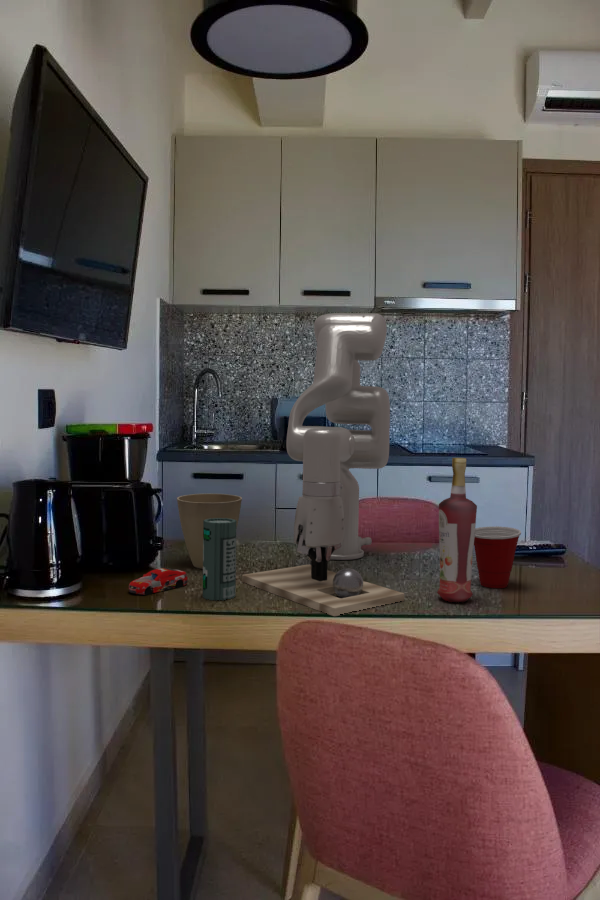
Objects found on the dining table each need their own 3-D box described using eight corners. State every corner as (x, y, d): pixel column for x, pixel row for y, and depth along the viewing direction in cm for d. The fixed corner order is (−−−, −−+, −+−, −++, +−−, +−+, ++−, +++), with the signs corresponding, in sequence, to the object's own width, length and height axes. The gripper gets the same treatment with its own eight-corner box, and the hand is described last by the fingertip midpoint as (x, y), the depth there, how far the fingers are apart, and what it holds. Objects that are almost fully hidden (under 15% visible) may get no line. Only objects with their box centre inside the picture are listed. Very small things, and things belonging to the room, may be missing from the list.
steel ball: (356, 608, 139) (339, 601, 145) (374, 584, 141) (357, 578, 147) (337, 589, 137) (321, 582, 143) (356, 565, 139) (340, 559, 144)
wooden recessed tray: (242, 581, 154) (242, 574, 154) (308, 570, 165) (308, 564, 165) (334, 616, 130) (334, 608, 130) (404, 601, 141) (404, 593, 141)
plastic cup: (456, 581, 158) (458, 526, 157) (497, 577, 162) (499, 524, 161) (487, 593, 148) (489, 535, 147) (530, 589, 152) (532, 532, 151)
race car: (138, 599, 140) (138, 578, 140) (122, 593, 144) (122, 573, 144) (192, 586, 150) (192, 567, 150) (175, 581, 154) (175, 563, 153)
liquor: (480, 604, 140) (485, 459, 138) (444, 605, 138) (449, 459, 137) (463, 594, 147) (468, 456, 145) (430, 595, 146) (434, 456, 144)
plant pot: (172, 560, 173) (172, 494, 172) (233, 557, 178) (233, 492, 177) (181, 574, 159) (182, 502, 158) (247, 571, 164) (248, 501, 162)
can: (216, 590, 146) (216, 517, 145) (240, 595, 143) (241, 520, 142) (197, 597, 141) (197, 521, 140) (222, 602, 138) (223, 524, 137)
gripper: (337, 486, 154) (335, 571, 155) (280, 490, 145) (278, 580, 146) (360, 489, 148) (358, 578, 149) (303, 494, 139) (301, 588, 140)
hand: (319, 579), depth 147 cm, fingers closed
